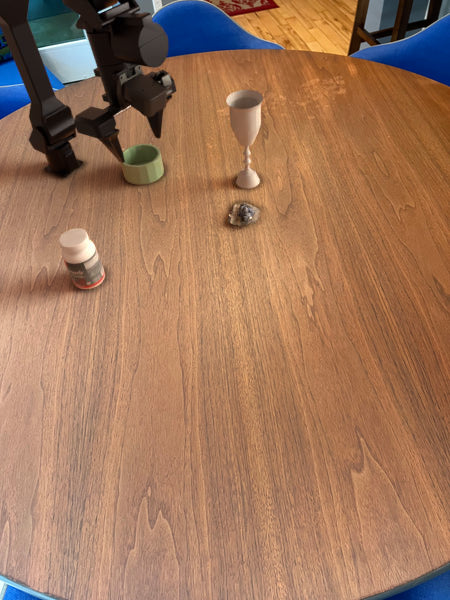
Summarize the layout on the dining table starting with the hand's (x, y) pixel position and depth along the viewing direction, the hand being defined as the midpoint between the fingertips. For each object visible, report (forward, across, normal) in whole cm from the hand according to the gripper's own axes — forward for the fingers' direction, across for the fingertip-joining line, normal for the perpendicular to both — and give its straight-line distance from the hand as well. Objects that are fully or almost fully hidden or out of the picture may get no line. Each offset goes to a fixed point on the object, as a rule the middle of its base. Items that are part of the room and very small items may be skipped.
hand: (140, 149), depth 86 cm
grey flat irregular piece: (+16, +9, -14) cm, 23 cm away
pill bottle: (+14, -20, -2) cm, 25 cm away
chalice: (+15, +18, -8) cm, 25 cm away
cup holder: (+13, +8, +13) cm, 20 cm away
